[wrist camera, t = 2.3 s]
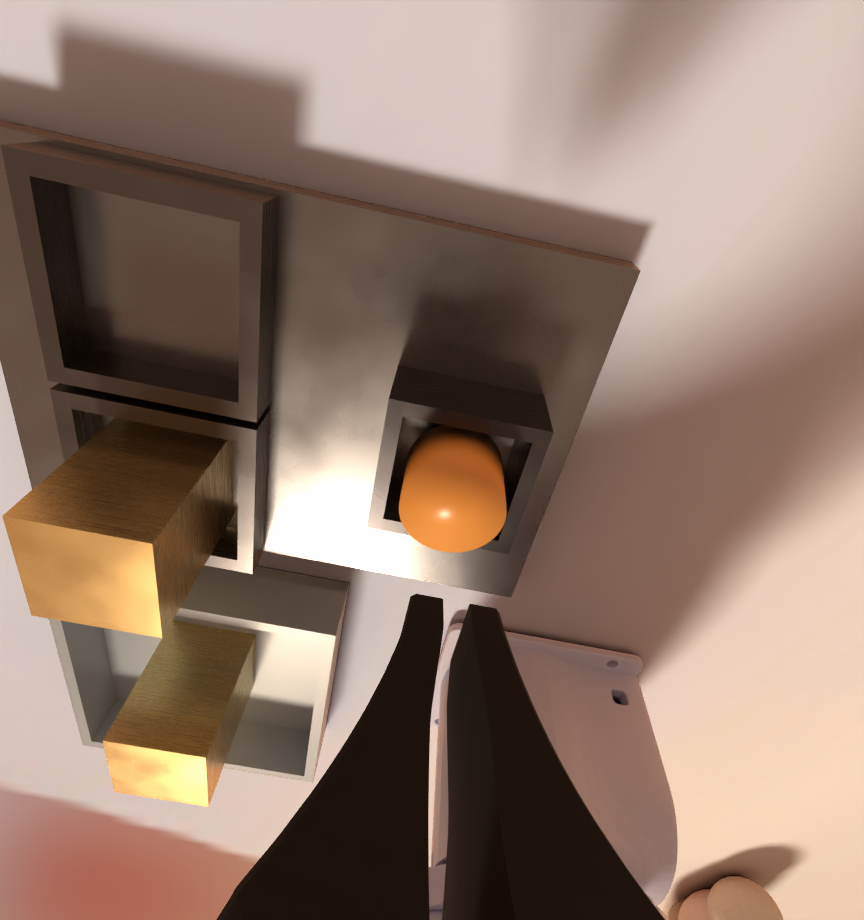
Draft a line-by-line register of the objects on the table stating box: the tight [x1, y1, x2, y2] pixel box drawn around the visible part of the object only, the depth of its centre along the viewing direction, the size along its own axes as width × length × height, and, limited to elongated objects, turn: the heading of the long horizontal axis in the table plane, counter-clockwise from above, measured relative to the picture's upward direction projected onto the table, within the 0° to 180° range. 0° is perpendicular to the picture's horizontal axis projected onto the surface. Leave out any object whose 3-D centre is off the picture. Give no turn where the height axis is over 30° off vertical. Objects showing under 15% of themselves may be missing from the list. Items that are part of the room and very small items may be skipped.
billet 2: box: [103, 620, 256, 807], centre depth 25 cm, size 4×4×6 cm
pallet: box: [0, 120, 640, 597], centre depth 19 cm, size 20×14×4 cm
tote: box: [49, 565, 349, 783], centre depth 27 cm, size 12×12×3 cm
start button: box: [399, 425, 507, 553], centre depth 17 cm, size 3×3×2 cm
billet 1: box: [3, 418, 232, 638], centre depth 19 cm, size 4×4×6 cm
